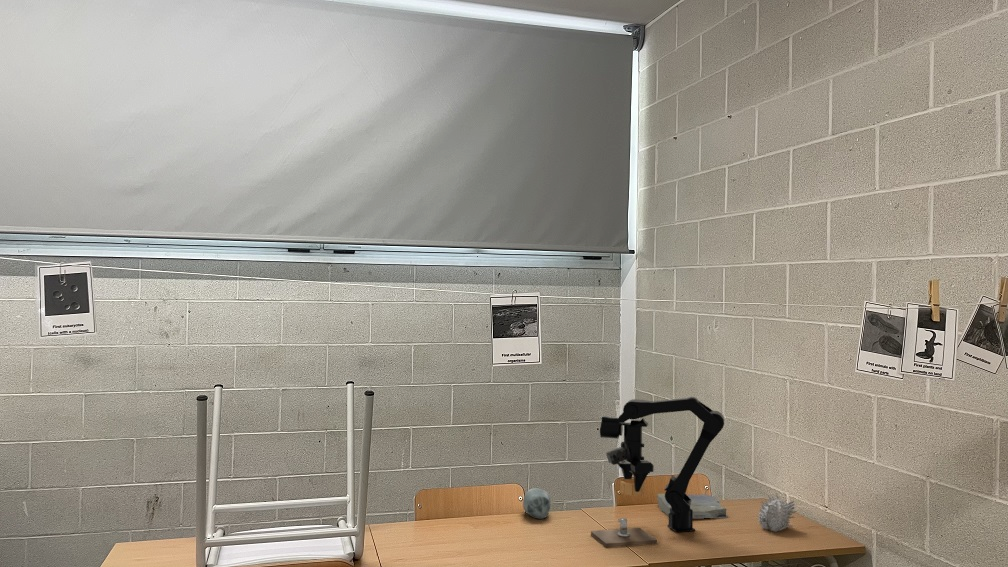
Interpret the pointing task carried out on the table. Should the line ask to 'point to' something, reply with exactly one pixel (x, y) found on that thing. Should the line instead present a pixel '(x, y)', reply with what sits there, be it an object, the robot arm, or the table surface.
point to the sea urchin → (775, 514)
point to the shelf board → (623, 538)
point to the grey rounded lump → (537, 503)
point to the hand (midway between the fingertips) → (632, 488)
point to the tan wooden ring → (630, 487)
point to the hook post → (623, 528)
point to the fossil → (697, 506)
